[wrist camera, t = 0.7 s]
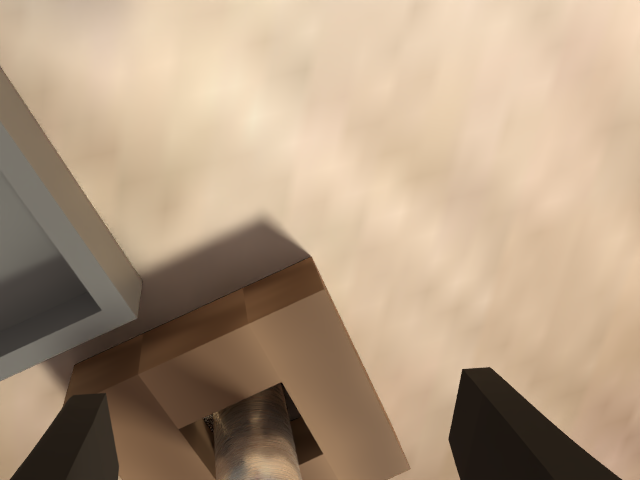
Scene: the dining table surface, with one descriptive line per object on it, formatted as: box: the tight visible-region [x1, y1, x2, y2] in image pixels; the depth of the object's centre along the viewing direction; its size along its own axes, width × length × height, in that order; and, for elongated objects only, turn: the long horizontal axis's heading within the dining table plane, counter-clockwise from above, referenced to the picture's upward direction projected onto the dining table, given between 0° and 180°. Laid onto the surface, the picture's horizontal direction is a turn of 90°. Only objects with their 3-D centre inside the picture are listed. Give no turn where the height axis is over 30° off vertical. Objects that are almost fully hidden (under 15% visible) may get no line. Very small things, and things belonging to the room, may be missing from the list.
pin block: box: [63, 257, 410, 480], centre depth 24 cm, size 10×10×2 cm
